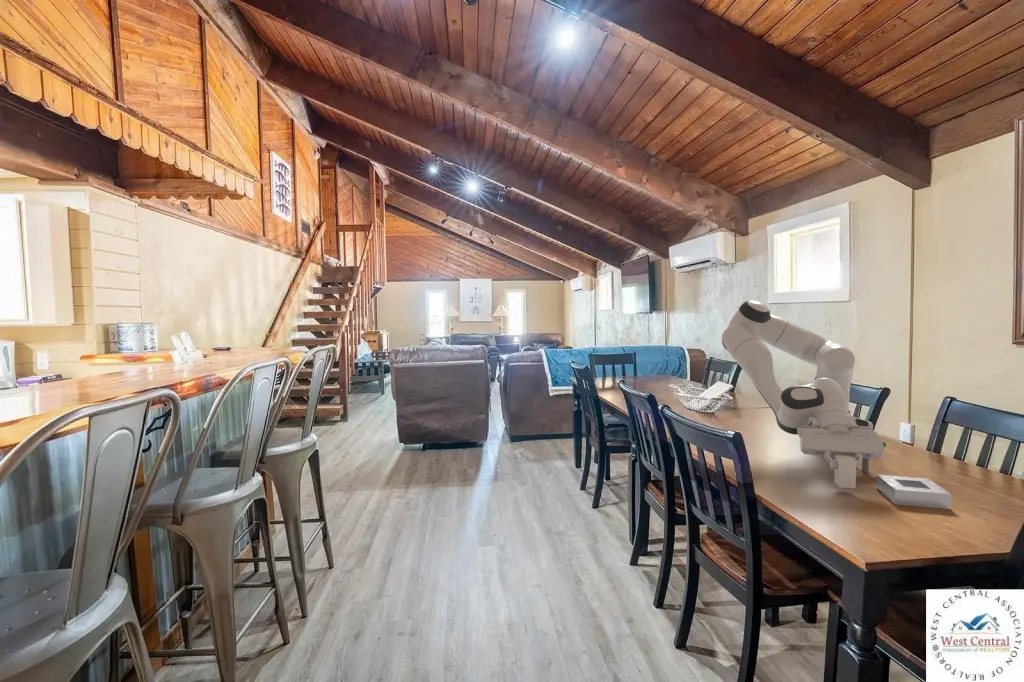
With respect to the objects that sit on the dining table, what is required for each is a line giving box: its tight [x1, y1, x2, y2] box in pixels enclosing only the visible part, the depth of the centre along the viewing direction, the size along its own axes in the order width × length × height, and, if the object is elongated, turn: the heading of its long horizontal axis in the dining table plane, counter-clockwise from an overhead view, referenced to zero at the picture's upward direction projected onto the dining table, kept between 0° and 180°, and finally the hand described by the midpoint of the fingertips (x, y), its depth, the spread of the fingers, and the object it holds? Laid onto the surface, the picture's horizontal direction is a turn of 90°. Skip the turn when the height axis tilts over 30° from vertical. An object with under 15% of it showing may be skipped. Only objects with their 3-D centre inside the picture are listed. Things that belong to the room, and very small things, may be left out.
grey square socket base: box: [876, 474, 953, 510], centre depth 130 cm, size 12×12×4 cm
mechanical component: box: [861, 441, 887, 473], centre depth 151 cm, size 3×10×10 cm, turn 78°
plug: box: [833, 455, 857, 489], centre depth 135 cm, size 4×4×8 cm
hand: (845, 468), depth 134 cm, fingers closed on plug, 4 cm apart
